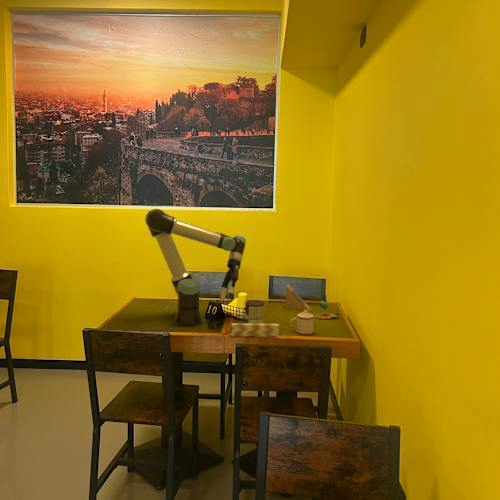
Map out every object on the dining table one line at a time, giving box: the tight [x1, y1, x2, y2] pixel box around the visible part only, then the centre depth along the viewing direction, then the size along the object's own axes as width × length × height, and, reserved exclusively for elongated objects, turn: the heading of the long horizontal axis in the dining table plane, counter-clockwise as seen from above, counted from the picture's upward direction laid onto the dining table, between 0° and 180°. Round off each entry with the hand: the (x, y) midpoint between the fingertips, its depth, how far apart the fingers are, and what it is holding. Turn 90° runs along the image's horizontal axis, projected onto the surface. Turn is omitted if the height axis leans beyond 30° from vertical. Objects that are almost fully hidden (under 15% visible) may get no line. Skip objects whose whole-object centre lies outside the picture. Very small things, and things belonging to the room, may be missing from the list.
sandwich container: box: [284, 283, 311, 312], centre depth 294 cm, size 9×15×15 cm, turn 79°
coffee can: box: [244, 299, 265, 324], centre depth 251 cm, size 10×10×14 cm
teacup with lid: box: [290, 310, 315, 335], centre depth 246 cm, size 12×9×12 cm
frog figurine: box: [313, 294, 342, 320], centre depth 275 cm, size 10×18×15 cm, turn 77°
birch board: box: [231, 322, 280, 338], centre depth 239 cm, size 24×3×6 cm, turn 91°
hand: (226, 295), depth 260 cm, fingers open, 13 cm apart
